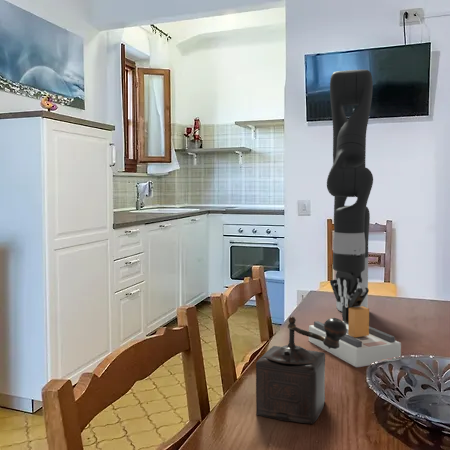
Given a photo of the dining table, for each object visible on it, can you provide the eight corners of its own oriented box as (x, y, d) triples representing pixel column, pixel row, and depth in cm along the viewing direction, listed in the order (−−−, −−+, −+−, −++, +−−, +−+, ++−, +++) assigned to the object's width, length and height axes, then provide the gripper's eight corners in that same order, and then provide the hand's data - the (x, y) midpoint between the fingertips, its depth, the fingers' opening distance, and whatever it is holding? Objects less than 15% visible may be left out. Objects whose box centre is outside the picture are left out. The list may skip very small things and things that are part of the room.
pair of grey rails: (314, 326, 125) (314, 321, 125) (347, 322, 129) (347, 317, 129) (357, 347, 108) (357, 342, 108) (394, 342, 112) (394, 336, 112)
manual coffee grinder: (252, 416, 85) (252, 314, 83) (272, 392, 95) (271, 300, 93) (344, 433, 79) (345, 323, 77) (354, 405, 89) (355, 307, 87)
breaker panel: (308, 341, 126) (308, 325, 126) (348, 335, 130) (348, 320, 130) (356, 367, 107) (356, 349, 107) (400, 360, 112) (401, 342, 111)
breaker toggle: (348, 334, 116) (348, 307, 116) (362, 332, 118) (362, 306, 117) (354, 337, 114) (354, 310, 114) (368, 335, 116) (369, 308, 115)
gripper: (320, 248, 123) (320, 316, 124) (352, 255, 111) (351, 330, 112) (346, 247, 126) (345, 313, 127) (379, 253, 113) (378, 327, 115)
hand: (348, 321), depth 120 cm, fingers closed
